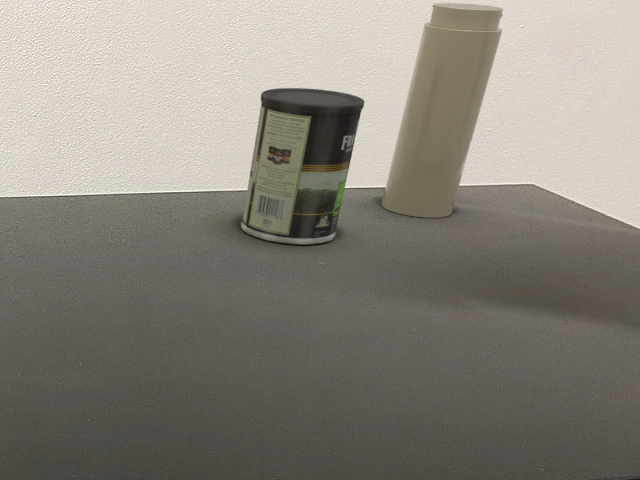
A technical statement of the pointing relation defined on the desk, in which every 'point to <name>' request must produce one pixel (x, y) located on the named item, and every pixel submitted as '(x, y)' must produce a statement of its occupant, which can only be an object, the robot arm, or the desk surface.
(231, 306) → the desk surface
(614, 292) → the desk surface
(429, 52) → the jar
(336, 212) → the coffee can
